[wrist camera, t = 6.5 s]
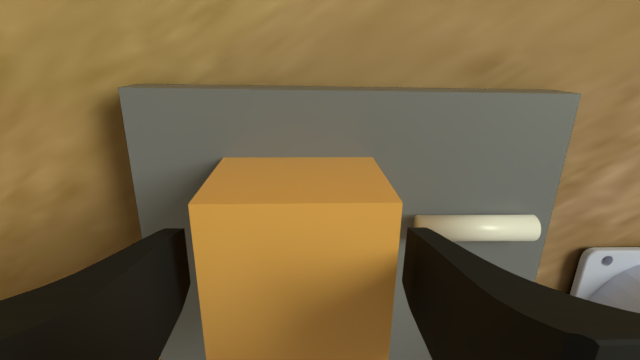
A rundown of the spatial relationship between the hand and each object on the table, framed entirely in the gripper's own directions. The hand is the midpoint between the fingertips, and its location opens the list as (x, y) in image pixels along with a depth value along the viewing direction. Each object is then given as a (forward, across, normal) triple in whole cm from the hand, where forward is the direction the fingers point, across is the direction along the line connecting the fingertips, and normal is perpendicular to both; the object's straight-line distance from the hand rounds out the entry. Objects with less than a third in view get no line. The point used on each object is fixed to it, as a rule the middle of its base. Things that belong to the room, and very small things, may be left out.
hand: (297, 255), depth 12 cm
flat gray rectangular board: (+4, -2, +1) cm, 4 cm away
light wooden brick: (+2, 0, 0) cm, 2 cm away
